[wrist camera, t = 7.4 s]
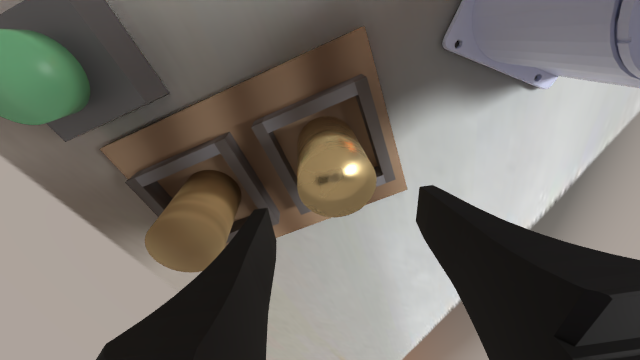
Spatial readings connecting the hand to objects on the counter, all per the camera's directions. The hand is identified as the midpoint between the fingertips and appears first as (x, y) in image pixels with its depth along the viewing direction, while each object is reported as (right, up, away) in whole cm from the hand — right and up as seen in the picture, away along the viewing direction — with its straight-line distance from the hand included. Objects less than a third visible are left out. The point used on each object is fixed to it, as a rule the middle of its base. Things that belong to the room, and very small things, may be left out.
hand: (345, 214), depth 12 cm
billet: (-1, +4, +7) cm, 8 cm away
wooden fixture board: (-5, +3, +9) cm, 11 cm away
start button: (-15, +7, +1) cm, 17 cm away
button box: (-15, +9, +4) cm, 18 cm away
